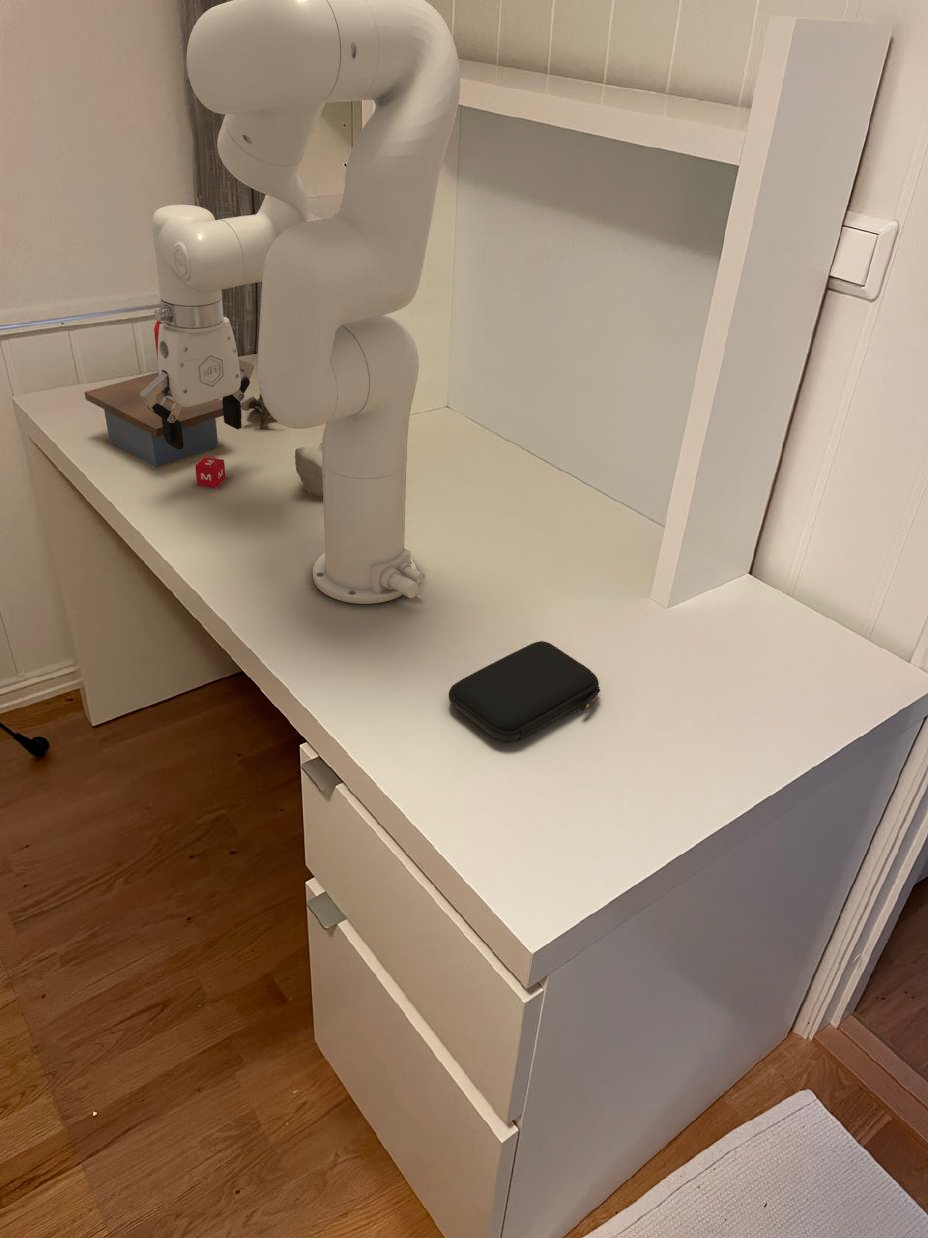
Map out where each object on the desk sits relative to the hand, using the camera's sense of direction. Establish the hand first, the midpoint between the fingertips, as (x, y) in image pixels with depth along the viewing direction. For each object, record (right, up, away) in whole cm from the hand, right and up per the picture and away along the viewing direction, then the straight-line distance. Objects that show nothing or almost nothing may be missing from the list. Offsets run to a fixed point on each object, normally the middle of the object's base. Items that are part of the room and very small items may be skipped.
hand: (204, 435), depth 130 cm
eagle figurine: (+4, +7, +23) cm, 24 cm away
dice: (0, -6, +4) cm, 7 cm away
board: (-9, +6, +9) cm, 15 cm away
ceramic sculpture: (+18, -6, +5) cm, 20 cm away
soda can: (-12, +14, +32) cm, 37 cm away
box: (-10, +1, +13) cm, 16 cm away
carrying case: (+42, -34, -32) cm, 63 cm away
